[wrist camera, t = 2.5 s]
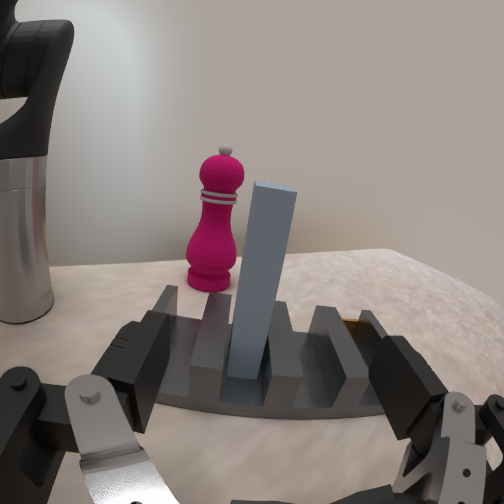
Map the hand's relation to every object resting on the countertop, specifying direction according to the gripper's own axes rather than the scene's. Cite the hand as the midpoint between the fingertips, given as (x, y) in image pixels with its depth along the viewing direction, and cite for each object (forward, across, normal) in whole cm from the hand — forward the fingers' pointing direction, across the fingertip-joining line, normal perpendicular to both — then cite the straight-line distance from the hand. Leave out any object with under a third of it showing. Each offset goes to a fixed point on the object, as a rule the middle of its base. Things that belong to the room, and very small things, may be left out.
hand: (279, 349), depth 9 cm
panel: (+11, 0, +10) cm, 15 cm away
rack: (+11, -2, +12) cm, 16 cm away
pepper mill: (+29, +6, +12) cm, 32 cm away
